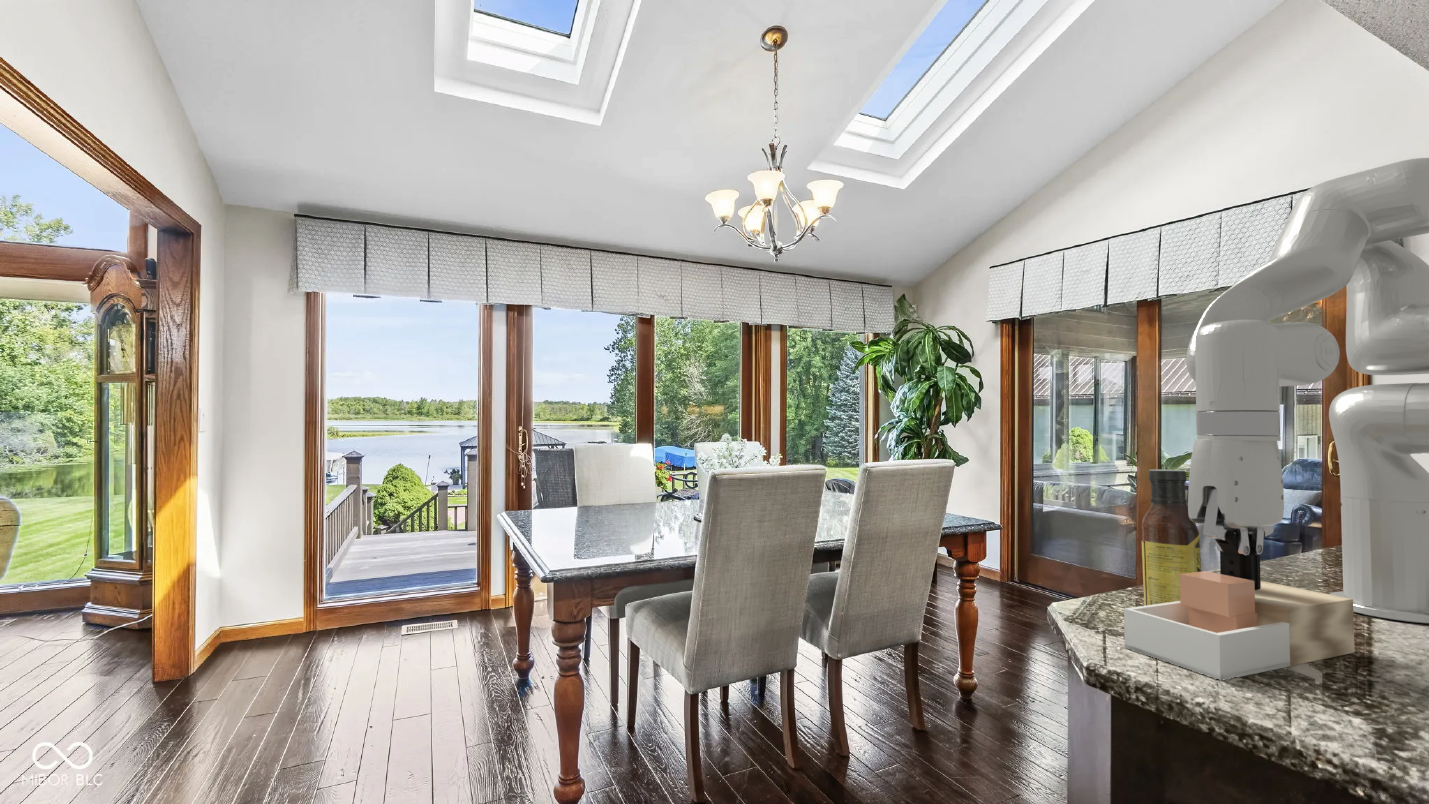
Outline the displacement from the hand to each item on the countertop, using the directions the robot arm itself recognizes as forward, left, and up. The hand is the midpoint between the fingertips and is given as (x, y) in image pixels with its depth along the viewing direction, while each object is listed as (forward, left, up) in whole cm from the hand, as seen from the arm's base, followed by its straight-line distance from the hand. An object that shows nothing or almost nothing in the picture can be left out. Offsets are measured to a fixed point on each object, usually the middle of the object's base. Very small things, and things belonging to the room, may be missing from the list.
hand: (1240, 587), depth 73 cm
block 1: (+4, 0, -2) cm, 5 cm away
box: (+6, 0, -7) cm, 10 cm away
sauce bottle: (-3, -10, -7) cm, 12 cm away
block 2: (+2, 0, -4) cm, 5 cm away
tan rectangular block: (-5, 0, -7) cm, 9 cm away
